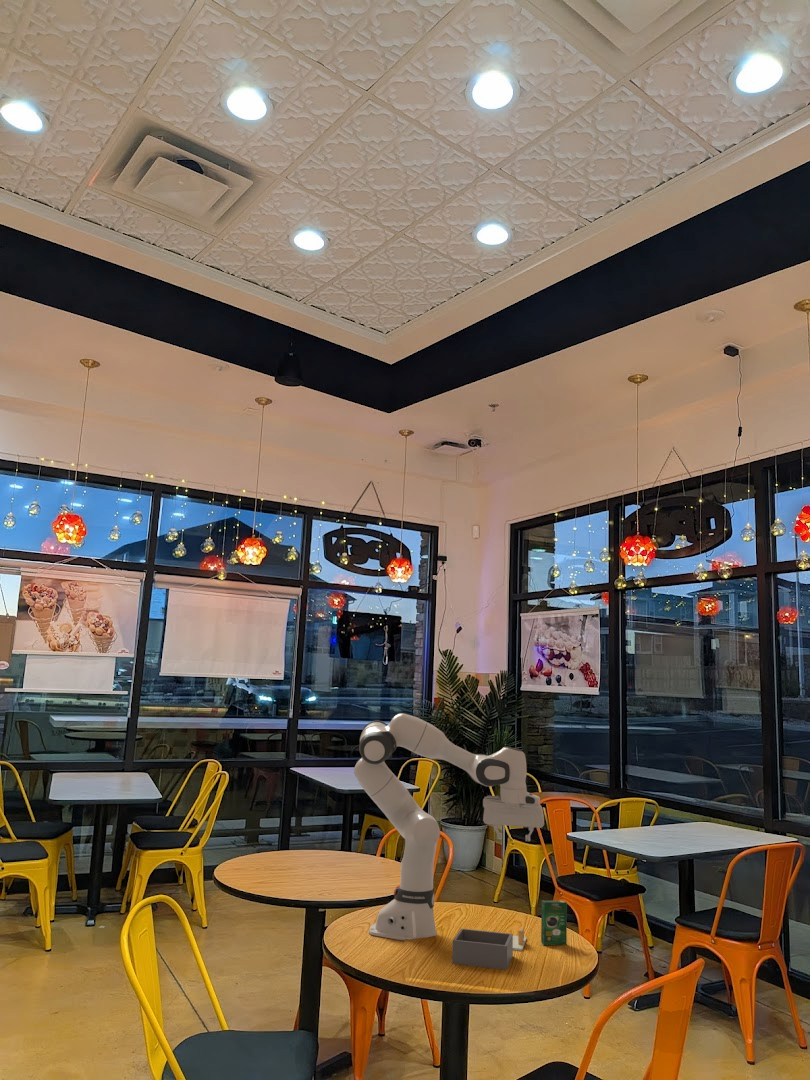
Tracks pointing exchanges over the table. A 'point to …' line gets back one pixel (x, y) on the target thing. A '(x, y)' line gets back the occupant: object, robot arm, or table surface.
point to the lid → (519, 940)
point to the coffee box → (554, 923)
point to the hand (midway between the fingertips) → (513, 840)
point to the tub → (483, 949)
